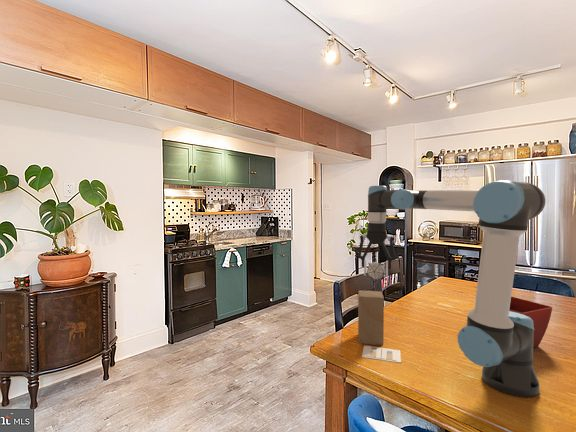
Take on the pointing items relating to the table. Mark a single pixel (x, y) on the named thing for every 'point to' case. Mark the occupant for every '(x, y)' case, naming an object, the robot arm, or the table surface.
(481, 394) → the table surface
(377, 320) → the wooden block
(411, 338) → the table surface
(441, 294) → the table surface
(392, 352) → the page
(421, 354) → the table surface
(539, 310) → the plant pot
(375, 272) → the game die
